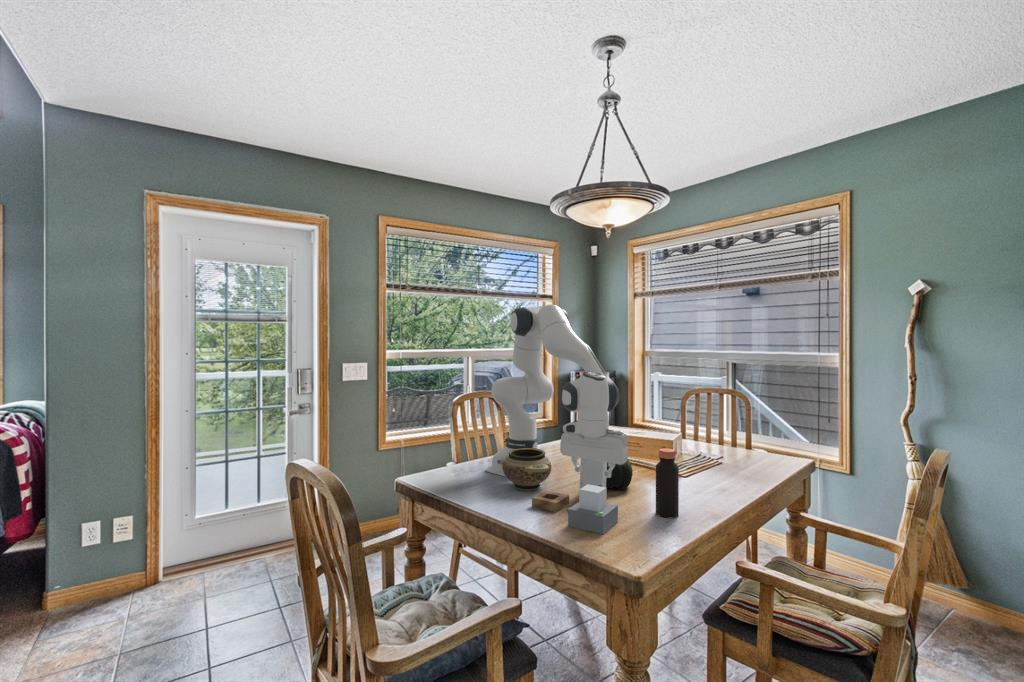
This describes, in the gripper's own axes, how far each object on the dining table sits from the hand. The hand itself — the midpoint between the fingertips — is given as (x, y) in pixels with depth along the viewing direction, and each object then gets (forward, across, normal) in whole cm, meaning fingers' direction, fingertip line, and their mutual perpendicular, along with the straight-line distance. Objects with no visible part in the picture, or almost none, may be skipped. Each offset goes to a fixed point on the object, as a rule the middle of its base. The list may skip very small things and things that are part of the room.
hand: (592, 474), depth 145 cm
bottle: (+15, -16, -20) cm, 30 cm away
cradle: (+15, +18, -7) cm, 24 cm away
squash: (+15, +8, -37) cm, 41 cm away
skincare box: (+15, +10, -23) cm, 29 cm away
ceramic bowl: (+16, +34, -20) cm, 43 cm away
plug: (+14, 0, 0) cm, 14 cm away
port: (+15, 0, 0) cm, 15 cm away
